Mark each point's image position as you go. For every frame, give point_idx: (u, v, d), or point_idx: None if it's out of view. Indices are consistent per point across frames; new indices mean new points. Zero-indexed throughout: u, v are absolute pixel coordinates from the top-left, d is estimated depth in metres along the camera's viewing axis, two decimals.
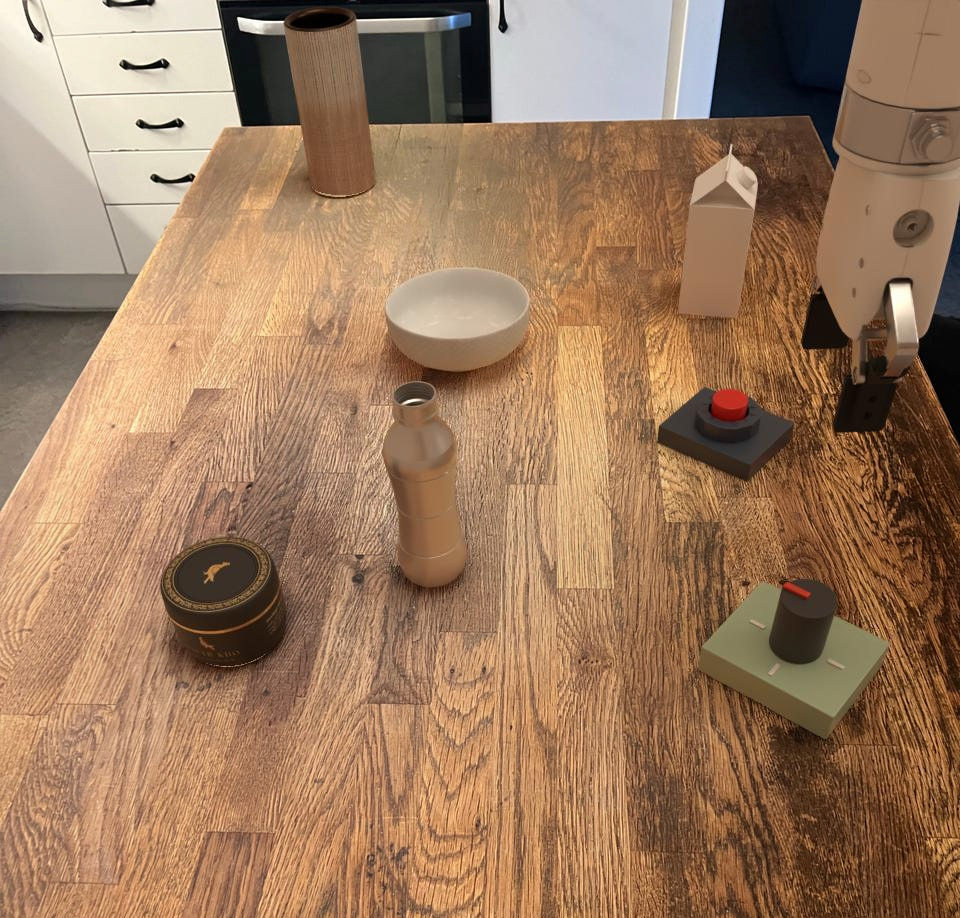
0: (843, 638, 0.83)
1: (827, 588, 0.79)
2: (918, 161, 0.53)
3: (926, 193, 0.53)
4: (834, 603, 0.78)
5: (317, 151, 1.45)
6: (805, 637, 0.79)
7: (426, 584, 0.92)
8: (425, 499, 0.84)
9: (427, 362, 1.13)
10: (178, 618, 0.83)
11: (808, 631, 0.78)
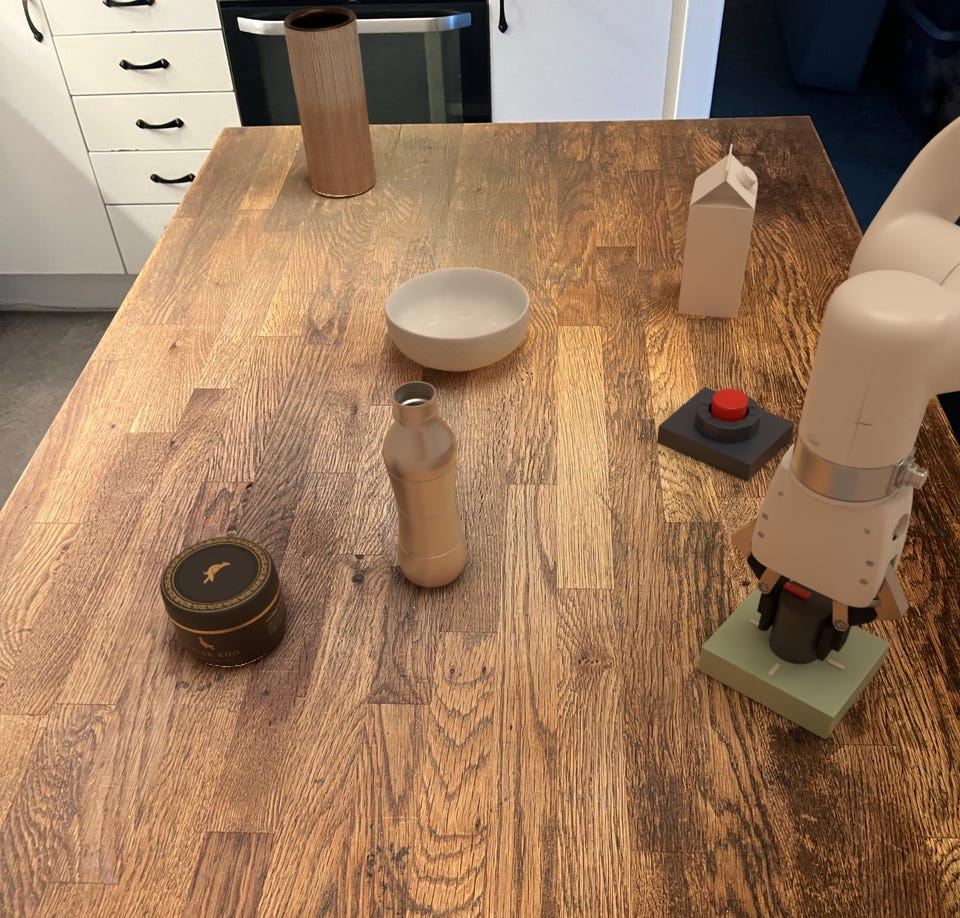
0: None
1: None
2: (896, 488, 0.67)
3: (906, 503, 0.68)
4: None
5: (317, 151, 1.45)
6: (805, 637, 0.79)
7: (426, 584, 0.92)
8: (425, 499, 0.84)
9: (427, 362, 1.13)
10: (178, 618, 0.83)
11: (808, 631, 0.78)
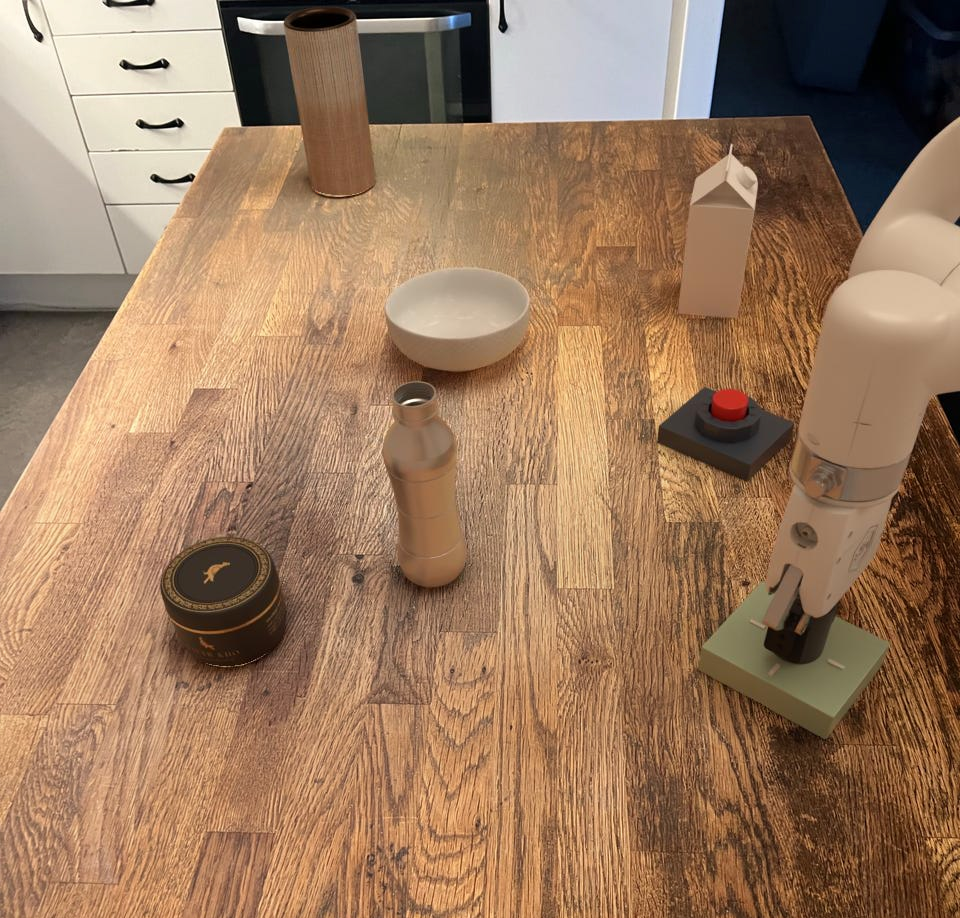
0: (843, 638, 0.83)
1: None
2: None
3: (814, 515, 0.67)
4: None
5: (317, 151, 1.45)
6: None
7: (426, 584, 0.92)
8: (425, 499, 0.84)
9: (427, 362, 1.13)
10: (178, 618, 0.83)
11: None
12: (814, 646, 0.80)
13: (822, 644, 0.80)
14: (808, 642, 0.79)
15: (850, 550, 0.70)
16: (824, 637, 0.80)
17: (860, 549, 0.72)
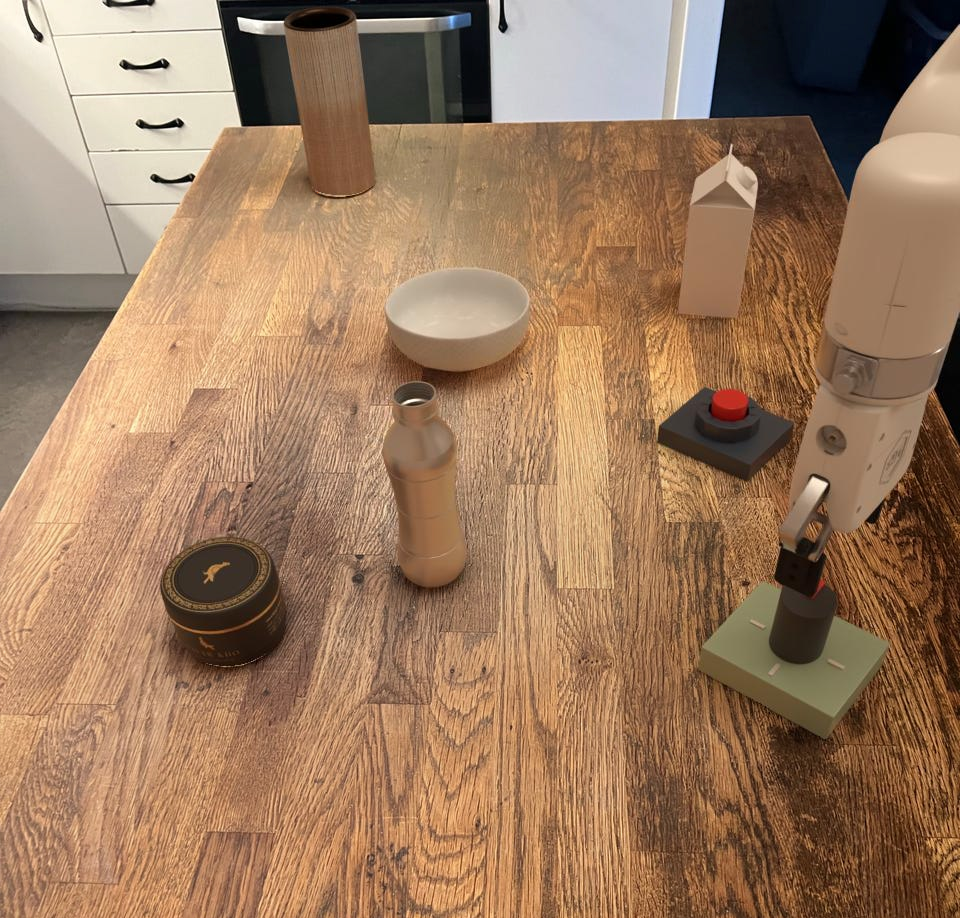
0: (843, 638, 0.83)
1: (826, 612, 0.77)
2: None
3: (842, 415, 0.62)
4: (805, 615, 0.77)
5: (317, 151, 1.45)
6: (775, 615, 0.80)
7: (426, 584, 0.92)
8: (425, 499, 0.84)
9: (427, 362, 1.13)
10: (178, 618, 0.83)
11: (777, 610, 0.80)
12: (814, 646, 0.80)
13: (822, 644, 0.80)
14: (808, 642, 0.79)
15: (882, 456, 0.64)
16: (824, 637, 0.80)
17: (892, 457, 0.66)
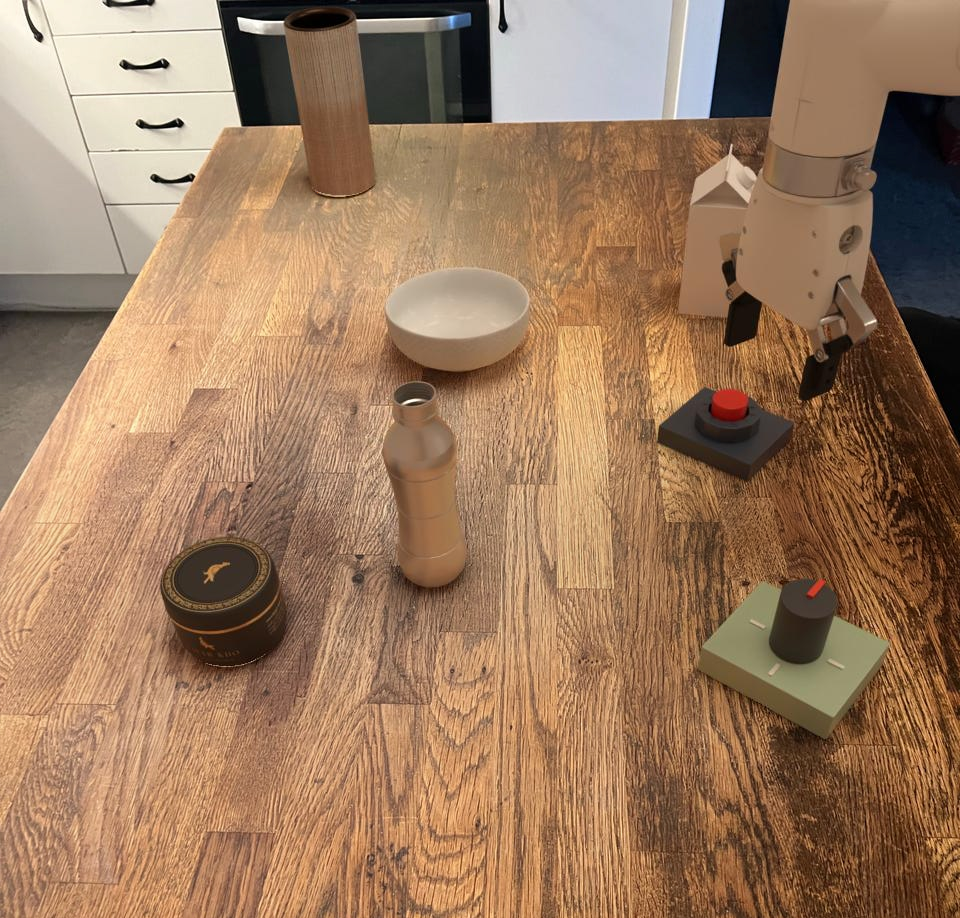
0: (843, 638, 0.83)
1: (826, 612, 0.77)
2: (847, 192, 0.71)
3: (857, 212, 0.71)
4: (805, 615, 0.77)
5: (317, 151, 1.45)
6: (775, 615, 0.80)
7: (426, 584, 0.92)
8: (425, 499, 0.84)
9: (427, 362, 1.13)
10: (178, 618, 0.83)
11: (777, 610, 0.80)
12: (814, 646, 0.80)
13: (822, 644, 0.80)
14: (808, 642, 0.79)
15: None
16: (824, 637, 0.80)
17: None
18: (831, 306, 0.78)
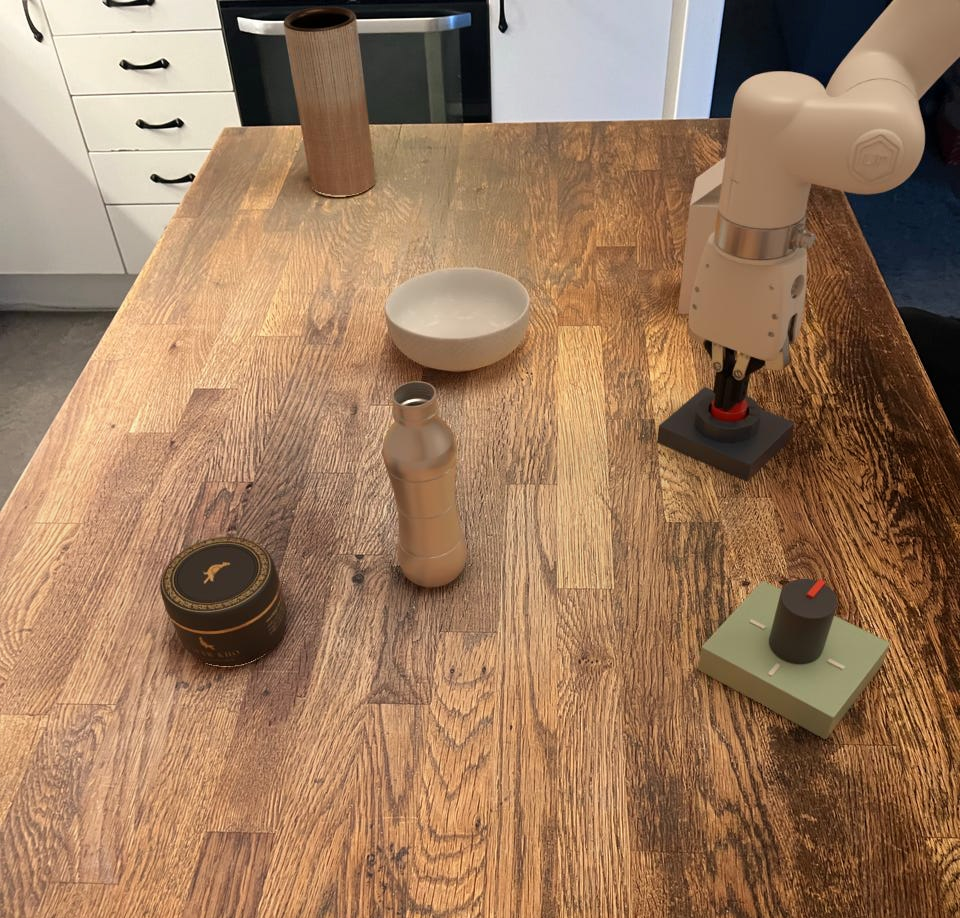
0: (843, 638, 0.83)
1: (826, 612, 0.77)
2: (792, 250, 0.88)
3: (800, 265, 0.89)
4: (805, 615, 0.77)
5: (317, 151, 1.45)
6: (775, 615, 0.80)
7: (426, 584, 0.92)
8: (425, 499, 0.84)
9: (427, 362, 1.13)
10: (178, 618, 0.83)
11: (777, 610, 0.80)
12: (814, 646, 0.80)
13: (822, 644, 0.80)
14: (808, 642, 0.79)
15: None
16: (824, 637, 0.80)
17: None
18: None
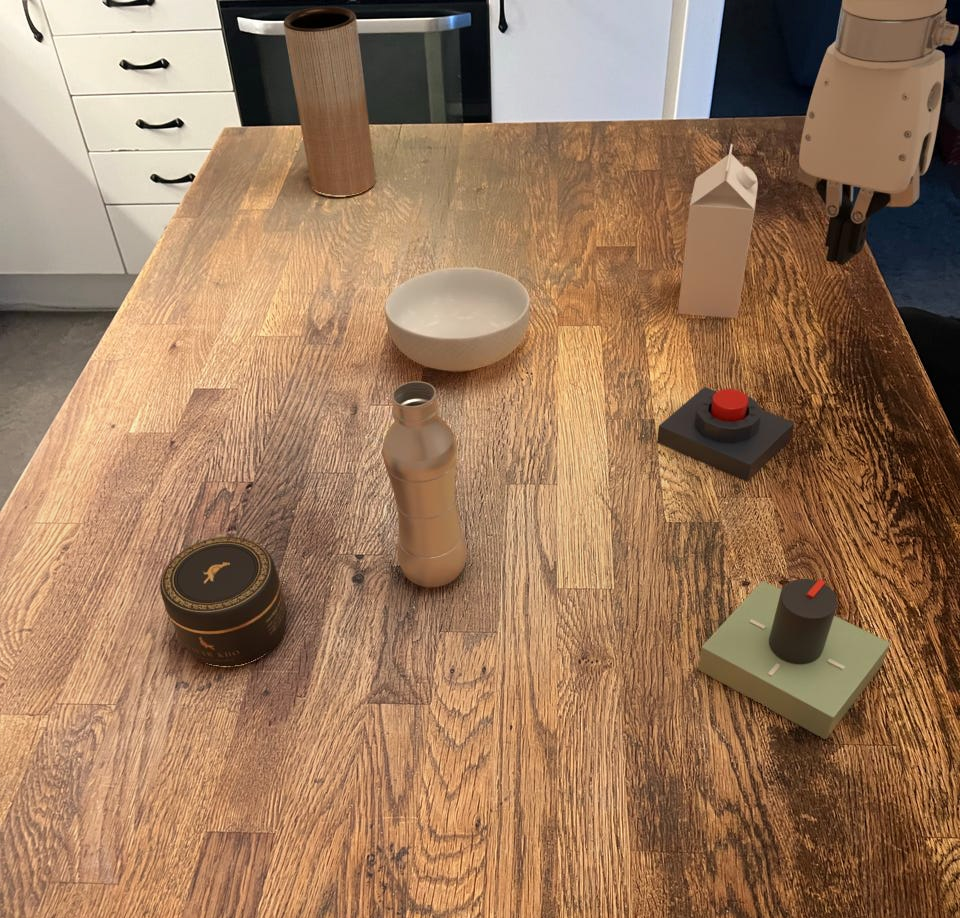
0: (843, 638, 0.83)
1: (826, 612, 0.77)
2: (929, 51, 0.76)
3: (938, 69, 0.77)
4: (805, 615, 0.77)
5: (317, 151, 1.45)
6: (775, 615, 0.80)
7: (426, 584, 0.92)
8: (425, 499, 0.84)
9: (427, 362, 1.13)
10: (178, 618, 0.83)
11: (777, 610, 0.80)
12: (814, 646, 0.80)
13: (822, 644, 0.80)
14: (808, 642, 0.79)
15: None
16: (824, 637, 0.80)
17: None
18: None
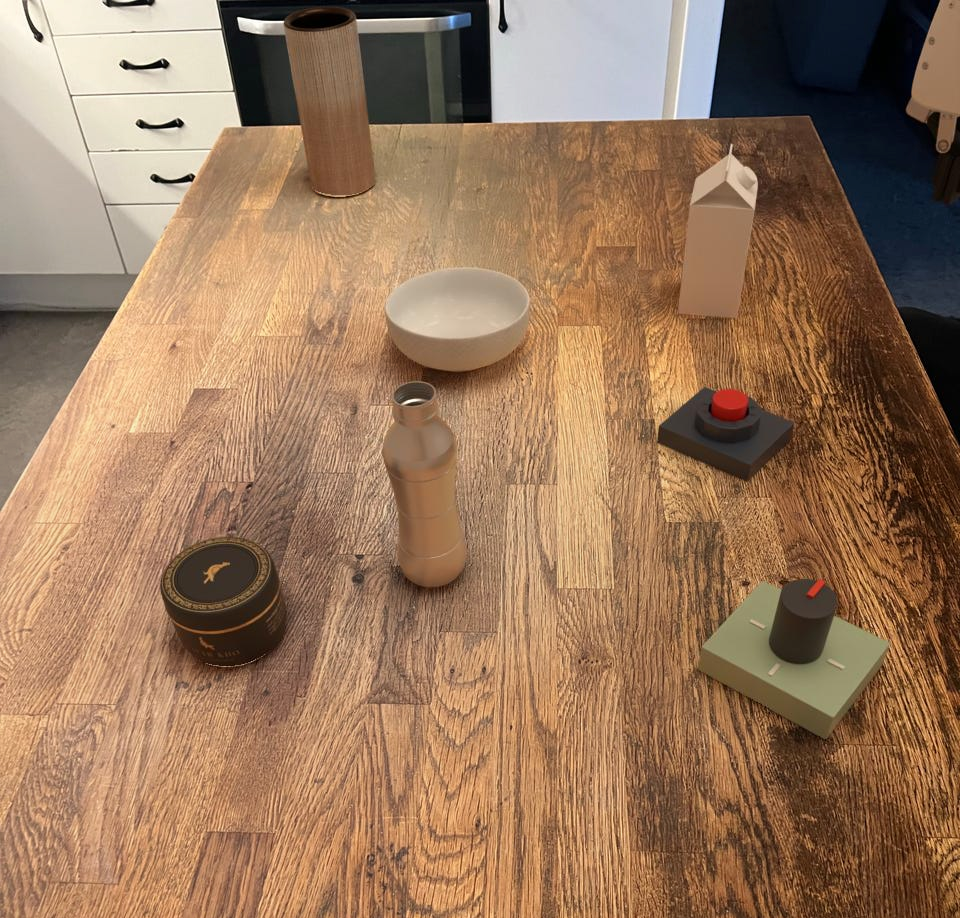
0: (843, 638, 0.83)
1: (826, 612, 0.77)
2: None
3: None
4: (805, 615, 0.77)
5: (317, 151, 1.45)
6: (775, 615, 0.80)
7: (426, 584, 0.92)
8: (425, 499, 0.84)
9: (427, 362, 1.13)
10: (178, 618, 0.83)
11: (777, 610, 0.80)
12: (814, 646, 0.80)
13: (822, 644, 0.80)
14: (808, 642, 0.79)
15: None
16: (824, 637, 0.80)
17: None
18: None
